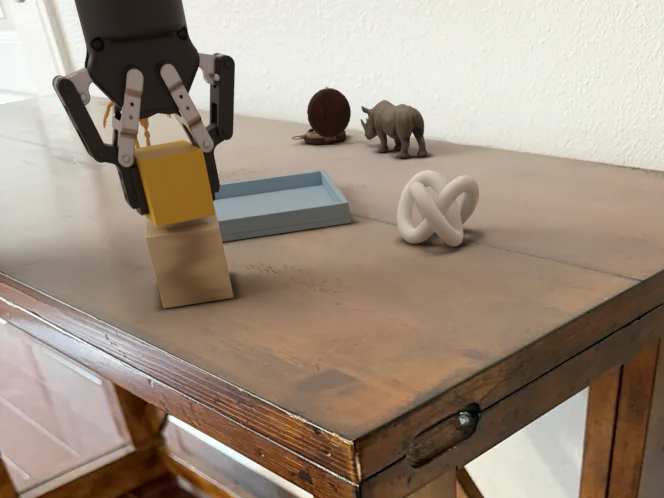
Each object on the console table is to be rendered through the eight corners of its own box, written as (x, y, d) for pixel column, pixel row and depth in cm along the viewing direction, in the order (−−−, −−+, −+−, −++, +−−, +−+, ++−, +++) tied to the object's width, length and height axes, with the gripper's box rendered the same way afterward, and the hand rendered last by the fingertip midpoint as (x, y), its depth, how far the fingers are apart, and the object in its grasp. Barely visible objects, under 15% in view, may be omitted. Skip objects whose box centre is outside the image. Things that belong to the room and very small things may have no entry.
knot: (456, 221, 83) (454, 160, 80) (498, 241, 77) (498, 176, 74) (390, 236, 81) (385, 174, 77) (429, 258, 75) (425, 191, 71)
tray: (186, 247, 83) (181, 226, 81) (181, 208, 94) (177, 189, 93) (351, 223, 85) (348, 202, 84) (326, 188, 97) (324, 169, 96)
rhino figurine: (376, 140, 115) (373, 93, 112) (434, 155, 106) (431, 103, 102) (352, 146, 114) (347, 98, 110) (408, 161, 104) (405, 109, 101)
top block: (156, 227, 65) (140, 160, 62) (141, 213, 69) (125, 149, 66) (216, 215, 67) (203, 149, 64) (197, 202, 71) (184, 139, 68)
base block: (163, 308, 70) (145, 237, 66) (163, 285, 74) (145, 217, 71) (233, 297, 70) (219, 227, 67) (228, 275, 75) (214, 207, 71)
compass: (339, 133, 121) (333, 78, 117) (354, 143, 115) (349, 85, 111) (287, 141, 119) (279, 85, 115) (300, 151, 113) (292, 93, 109)
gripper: (200, -53, 63) (241, 181, 73) (6, -35, 58) (80, 213, 68) (232, -54, 57) (272, 199, 68) (21, -34, 52) (99, 235, 63)
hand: (175, 205), depth 68 cm, fingers closed on top block, 5 cm apart
